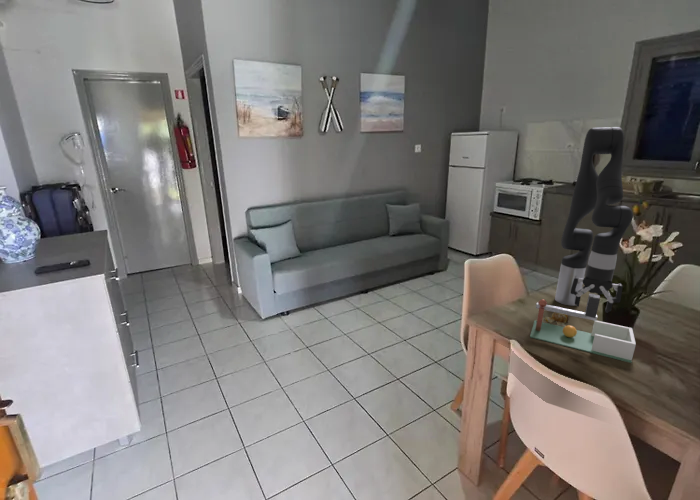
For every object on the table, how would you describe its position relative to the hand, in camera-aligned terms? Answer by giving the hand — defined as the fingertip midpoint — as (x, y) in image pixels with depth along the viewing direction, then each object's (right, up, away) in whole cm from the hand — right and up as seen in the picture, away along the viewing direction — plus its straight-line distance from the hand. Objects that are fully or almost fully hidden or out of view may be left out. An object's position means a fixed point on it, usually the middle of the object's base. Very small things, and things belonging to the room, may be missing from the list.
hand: (591, 308), depth 125 cm
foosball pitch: (-2, -12, +5) cm, 13 cm away
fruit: (-2, -8, +18) cm, 20 cm away
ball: (-4, -9, +6) cm, 12 cm away
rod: (-6, -11, +8) cm, 14 cm away
